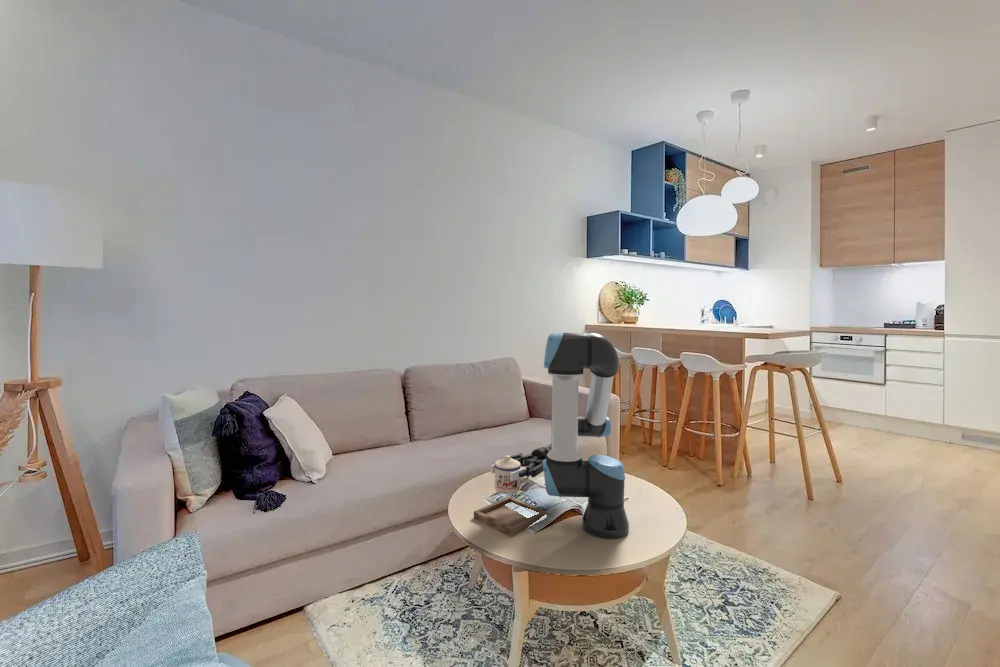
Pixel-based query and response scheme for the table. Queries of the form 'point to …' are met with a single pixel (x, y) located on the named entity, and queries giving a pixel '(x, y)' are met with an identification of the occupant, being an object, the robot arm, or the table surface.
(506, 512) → the tray
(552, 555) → the table surface
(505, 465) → the teacup with lid
